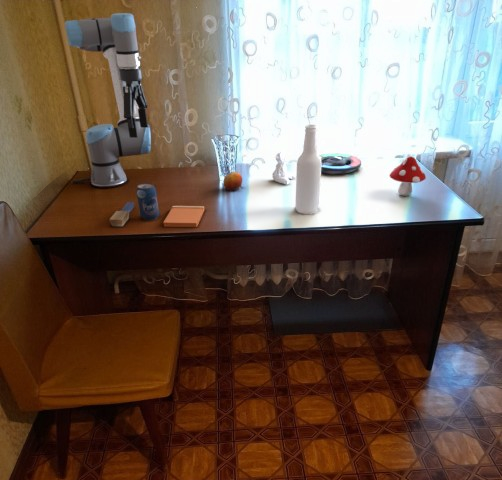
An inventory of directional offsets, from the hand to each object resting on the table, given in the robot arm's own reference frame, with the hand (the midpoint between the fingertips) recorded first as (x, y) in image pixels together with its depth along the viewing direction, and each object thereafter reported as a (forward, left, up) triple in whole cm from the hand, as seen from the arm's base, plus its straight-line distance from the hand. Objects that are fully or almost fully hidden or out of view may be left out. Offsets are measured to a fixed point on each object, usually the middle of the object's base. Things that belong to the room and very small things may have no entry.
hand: (139, 132), depth 178 cm
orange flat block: (+18, -18, -26) cm, 36 cm away
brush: (-5, -18, -26) cm, 32 cm away
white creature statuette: (+52, +25, -26) cm, 64 cm away
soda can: (+5, -18, -26) cm, 32 cm away
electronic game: (+76, +44, -26) cm, 92 cm away
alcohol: (+63, -8, -26) cm, 69 cm away
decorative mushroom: (+102, +10, -26) cm, 106 cm away
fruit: (+32, +14, -26) cm, 44 cm away
